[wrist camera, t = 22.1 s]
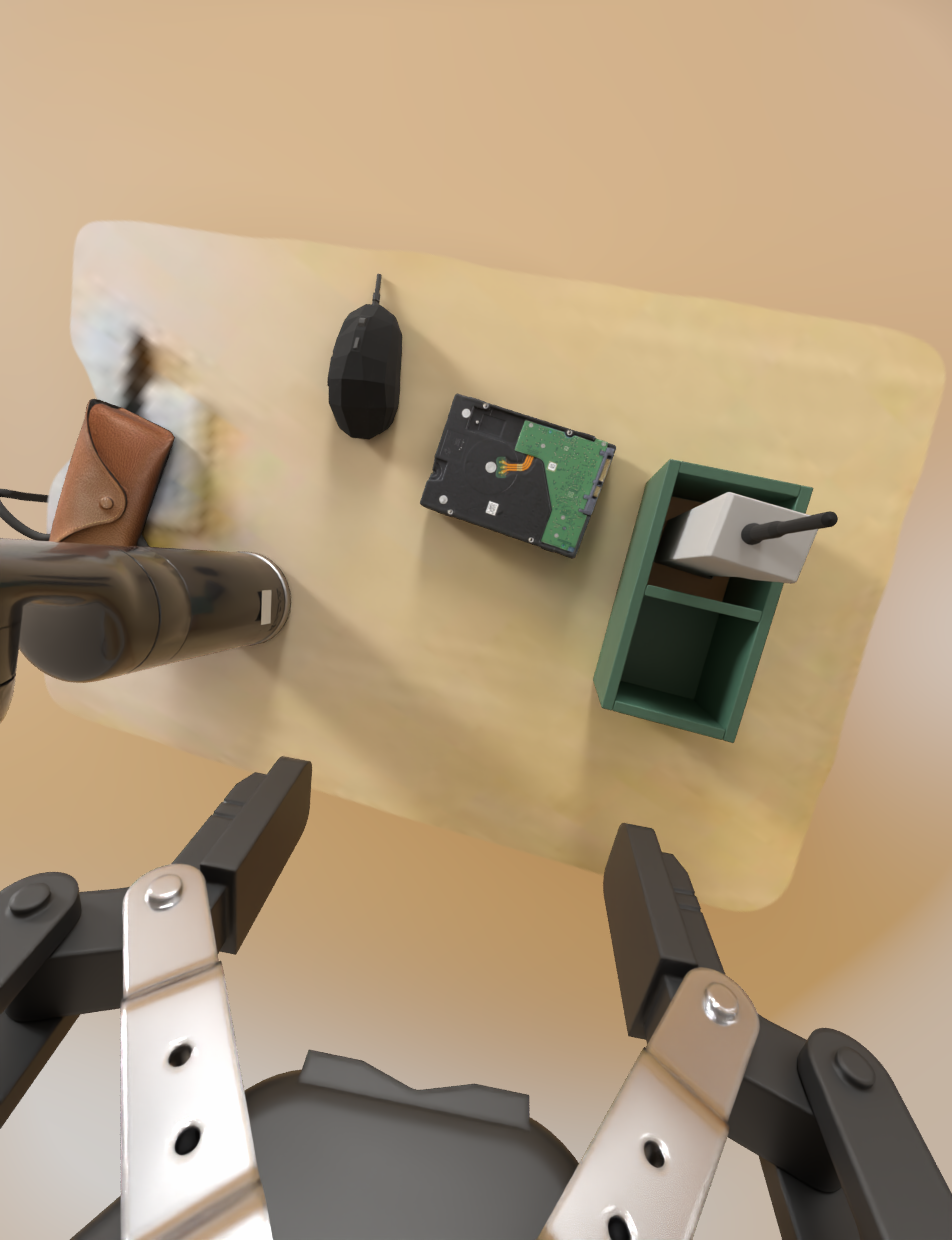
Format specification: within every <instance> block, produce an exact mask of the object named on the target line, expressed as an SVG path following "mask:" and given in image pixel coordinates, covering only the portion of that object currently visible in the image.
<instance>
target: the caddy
mask: <svg viewBox="0 0 952 1240" xmlns="http://www.w3.org/2000/svg"><path fill="white" fill-rule="evenodd" d="M812 491H813V488H812V487H807V486H801V485H797V484H792V483H787V482H782V481H777V480H772V479H768V478H763V477H758V476H753V475H748V474H743V473H738V472H733V471H728V470H723V469H718V468H713V467H708V466H703V465H698V464H693V463H688V462H683V461H682V462H681V461H678V460H673V459H670V460H669V461H668V462H667V463H666V464H665V465H664V466H663V467H662V468H661V469H660V470H659V471H658V472H657V473H656V474H655V475H654V476H653V477H652V478H651V479H650V480H649V481H648V482H647V483H646V486H645V489H644V493H643V497H642V500H641V504H640V508H639V512H638V515H637V519H636V523H635V526H634V530H633V534H632V537H631V541H630V545H629V549H628V552H627V556H626V560H625V563H624V567H623V571H622V574H621V578H620V582H619V586H618V589H617V593H616V597H615V600H614V604H613V608H612V612H611V615H610V619H609V623H608V626H607V630H606V634H605V637H604V641H603V645H602V649H601V652H600V656H599V660H598V663H597V667H596V671H595V674H594V678H593V681H594V685H595V688H596V691H597V694H598V697H599V700H600V703H601V707H602V708H604V709H608V710H613V711H616V712H619V713H623V714H627V715H631V716H634V717H638V718H642V719H646V720H649V721H653V722H657V723H660V724H664V725H668V726H672V727H675V728H679V729H683V730H687V731H690V732H694V733H698V734H702V735H705V736H709V737H713V738H716V739H720V740H722V739H723V740H724V741H728V742H731V743H734V741H735V738H736V735H737V731H738V728H739V725H740V722H741V719H742V715H743V712H744V709H745V706H746V703H747V699H748V696H749V693H750V690H751V687H752V683H753V680H754V677H755V674H756V671H757V667H758V664H759V661H760V658H761V655H762V651H763V648H764V645H765V642H766V639H767V635H768V632H769V629H770V626H771V623H772V619H773V616H774V613H775V610H776V606H777V603H778V600H779V597H780V594H781V590H782V587H783V584H784V583H781V582H771V581H760V580H752V579H747V578H742V577H721V576H714V577H713V579H706V578H703V577H700V576H697V575H694V574H690V573H687V572H684V571H681V570H678V569H675V568H671V567H668V566H665V565H662V564H659V563H655V562H653V561H654V558H655V554H656V551H657V548H658V546H659V543H660V540H661V538H662V535H663V532H664V529H665V527H666V524H667V521H668V520H670V519H672V518H674V517H676V516H678V515H680V514H683V513H685V512H687V511H689V510H691V509H693V508H695V507H697V506H700V505H702V504H704V503H706V502H708V501H710V500H712V499H714V498H717V497H719V496H721V495H723V494H725V493H727V492H731V493H735V494H738V495H742V496H745V497H748V498H752V499H755V500H759V501H762V502H766V503H769V504H772V505H776V506H779V507H783V508H786V509H790V510H793V511H796V512H800V513H803V514H806V510H807V507H808V504H809V501H810V498H811V494H812Z"/></svg>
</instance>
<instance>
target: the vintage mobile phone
mask: <svg viewBox="0 0 952 1240" xmlns="http://www.w3.org/2000/svg"><path fill="white" fill-rule="evenodd" d="M837 520H838V518H837V515H836V514H835V513H834V512H825V513H820V514H816V515H811V516H810V515H807V514H803V513H800V512H796V511H793V510H790V509H786V508H783V507H779V506H776V505H772V504H769V503H766V502H762V501H759V500H755V499H752V498H748V497H745V496H742V495H738V494H735V493H731V492H727V493H725V494H723V495H721V496H719V497H717V498H714V499H712V500H710V501H708V502H706V503H704V504H702V505H700V506H697V507H695V508H693V509H691V510H689V511H687V512H685V513H683V514H680V515H678V516H676V517H674V518H672V519H670V520H668V521H667V524H666V527H665V529H664V532H663V535H662V538H661V540H660V543H659V546H658V548H657V551H656V554H655V558H654V561H653V562H655V563H659V564H662V565H665V566H668V567H671V568H675V569H678V570H681V571H684V572H687V573H690V574H694V575H697V576H700V577H703V578H706V579H713V577H714V576H721V577H742V578H747V579H752V580H760V581H771V582H781V583H795V582H796V581H797V579H798V577H799V575H800V572H801V570H802V567H803V565H804V562H805V560H806V557H807V555H808V553H809V550H810V548H811V545H812V543H813V540H814V538H815V536H816V533H817V531H818V529H820V528H826V527H832V526H834V525H835V524H836V523H837Z"/></svg>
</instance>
